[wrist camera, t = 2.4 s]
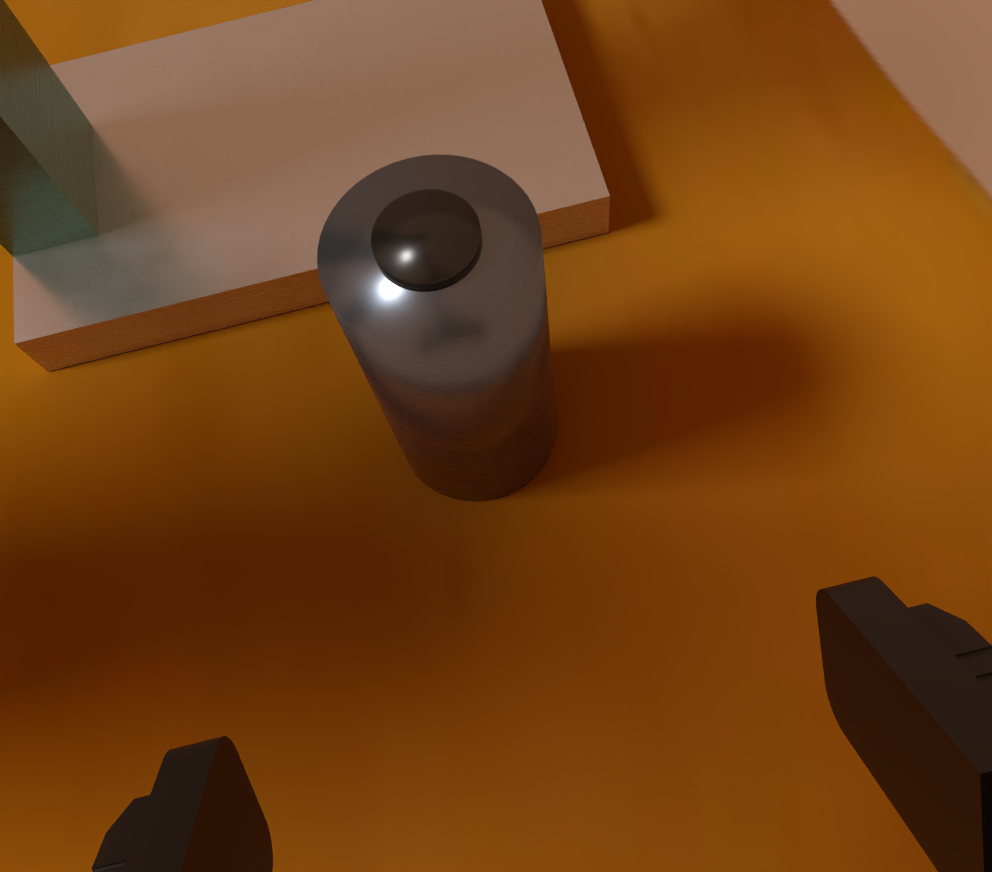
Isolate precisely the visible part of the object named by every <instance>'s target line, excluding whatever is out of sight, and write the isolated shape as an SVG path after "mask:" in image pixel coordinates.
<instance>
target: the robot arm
mask: <svg viewBox="0 0 992 872" xmlns="http://www.w3.org/2000/svg"><path fill="white" fill-rule="evenodd" d="M816 608H817V617H818V626H819V634H820V643H821V652H822V661H823V670H824V679H825V686H826V691H827V695H828V699H829V702H830V705H831V708H832V710H833V713H834V715H835V718H836V720H837V722H838V724H839V726H840V728H841V730H842V731H843V733H844V734H845V736H846V737H847V739H848V740H849V742H850V743H851V745H852V746H853V748H854V749H855V750H856V752H857V753H858V755H859V756H860V758H861V759H862V761H863V762H864V764H865V765H866V767H867V768H868V769H869V771H870V772H871V774H872V775H873V777H874V778H875V780H876V781H877V783H878V784H879V786H880V787H881V789H882V790H883V791H884V793H885V794H886V796H887V797H888V799H889V800H890V802H891V803H892V805H893V806H894V808H895V809H896V810H897V812H898V813H899V815H900V816H901V818H902V819H903V821H904V822H905V824H906V825H907V827H908V828H909V830H910V831H911V832H912V834H913V835H914V837H915V838H916V840H917V841H918V843H919V844H920V846H921V847H922V849H923V850H924V851H925V853H926V854H927V856H928V857H929V859H930V860H931V862H932V863H933V865H934V866H935V868H936V869H937V871H938V872H992V645H991V644H989V643H988V642H987V641H986V640H985V639H984V638H983V637H982V636H981V635H980V634H979V633H978V632H977V631H976V630H975V629H974V628H973V627H971V626H970V625H969V624H968V623H967V622H966V621H965V620H963V619H960V618H958V617H956V616H954V615H952V614H950V613H947V612H945V611H943V610H941V609H939V608H937V607H934V606H932V605H930V604H928V603H926V604H922V605H918V606H914V607H910V608H907V607H906V605H905V604H904V603H903V602H902V601H901V600H900V599H899V598H898V597H897V596H896V595H895V594H894V593H893V592H892V591H891V590H890V589H889V588H888V587H887V586H886V585H885V584H884V583H883V582H882V581H881V580H880V579H879V578H877V577H874V576H873V577H869V578H865V579H861V580H856V581H852V582H848V583H844V584H840V585H836V586H832V587H828V588H824V589H820V590H819V591H818V592H817V596H816ZM272 869H273V853H272V843H271V837H270V832H269V828H268V825H267V822H266V819H265V817H264V814H263V812H262V810H261V807H260V805H259V802H258V800H257V798H256V795H255V793H254V790H253V788H252V786H251V783H250V781H249V778H248V776H247V774H246V771H245V769H244V766H243V764H242V762H241V759H240V757H239V754H238V752H237V750H236V748H235V745H234V744H233V742H232V741H231V740H230V739H229V738H228V737H226V736H223V737H219V738H215V739H211V740H207V741H203V742H199V743H195V744H191V745H187V746H183V747H179V748H175V749H171V750H169V751H168V752H167V753H166V755H165V757H164V759H163V762H162V764H161V767H160V770H159V773H158V775H157V778H156V781H155V784H154V786H153V789H152V792H151V795H148V796H144V797H140V798H136V799H134V800H133V801H132V802H131V803H130V804H129V806H128V807H127V808H126V809H125V811H124V812H123V813H122V814H121V815H120V817H119V818H118V819H117V820H116V822H115V823H114V824H113V825H112V827H111V828H110V829H109V830H108V831H107V833H106V835H105V837H104V839H103V842H102V844H101V847H100V849H99V852H98V854H97V857H96V859H95V862H94V864H93V867H92V871H93V872H272Z"/></svg>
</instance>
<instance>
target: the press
mask: <svg viewBox="0 0 992 872" xmlns="http://www.w3.org/2000/svg"><path fill="white" fill-rule="evenodd" d="M435 154H438V155H455V156H463V157H467V158H471V159H475V160H478V161H481V162H484V163H486V164H489V165H491V166H493V167H495V168H497V169H499V170H500V171H502V172H503V173H505V174H506V175H508V176H509V177H510V178H512V179H513V180H514V181H515V182H516V183H517V184H518V185H519V186H520V187H521V188H522V189H523V191H524V192H525V193H526V194H527V195H528V197H529V199H530V200H531V202H532V204H533V206H534V208H535V210H536V213H537V215H538V218H539V222H540V227H541V233H542V246H543V249H544V248H548V247H552V246H556V245H560V244H564V243H568V242H572V241H576V240H580V239H584V238H588V237H592V236H596V235H600V234H604V233H608V232H609V209H610V195H609V192H608V189H607V186H606V183H605V180H604V178H603V175H602V172H601V169H600V166H599V163H598V160H597V158H596V155H595V152H594V149H593V146H592V143H591V140H590V138H589V135H588V132H587V129H586V126H585V123H584V121H583V118H582V115H581V112H580V109H579V106H578V103H577V101H576V98H575V95H574V92H573V89H572V86H571V83H570V81H569V78H568V75H567V72H566V69H565V66H564V63H563V61H562V58H561V55H560V52H559V49H558V46H557V43H556V41H555V38H554V35H553V32H552V29H551V26H550V24H549V21H548V18H547V15H546V12H545V9H544V6H543V4H542V1H541V0H314V1H310V2H306V3H302V4H298V5H294V6H290V7H286V8H282V9H278V10H273V11H269V12H265V13H261V14H257V15H253V16H249V17H245V18H241V19H237V20H233V21H229V22H225V23H221V24H217V25H212V26H208V27H204V28H200V29H196V30H192V31H188V32H184V33H180V34H176V35H172V36H168V37H164V38H160V39H156V40H152V41H147V42H143V43H139V44H135V45H131V46H127V47H123V48H119V49H115V50H111V51H107V52H103V53H99V54H95V55H91V56H86V57H82V58H78V59H74V60H70V61H66V62H62V63H58V64H54V65H49V64H48V62H47V61H46V60H45V58H44V57H43V55H42V54H41V52H40V51H39V50H38V48H37V47H36V45H35V44H34V43H33V41H32V40H31V38H30V37H29V35H28V34H27V33H26V31H25V30H24V28H23V27H22V26H21V24H20V23H19V21H18V20H17V18H16V17H15V16H14V14H13V13H12V11H11V10H10V9H9V7H8V6H7V4H6V3H5V1H4V0H0V244H1V245H2V246H3V247H4V248H5V249H6V250H7V251H8V252H9V253H10V254H11V255H12V256H13V277H14V344H16V345H17V346H18V347H19V348H20V349H21V350H23V351H24V352H25V353H26V354H27V355H29V356H30V357H31V358H32V359H33V360H34V361H36V362H37V363H38V364H39V365H40V366H42V367H43V368H44V369H45V370H46V371H52V370H56V369H60V368H64V367H68V366H72V365H76V364H80V363H84V362H88V361H92V360H96V359H101V358H105V357H109V356H113V355H117V354H121V353H125V352H129V351H133V350H137V349H141V348H145V347H149V346H153V345H157V344H161V343H165V342H169V341H173V340H177V339H181V338H185V337H189V336H193V335H197V334H201V333H205V332H209V331H213V330H217V329H221V328H225V327H229V326H234V325H238V324H242V323H246V322H250V321H254V320H258V319H262V318H266V317H270V316H274V315H278V314H282V313H286V312H290V311H294V310H298V309H302V308H306V307H310V306H314V305H318V304H322V303H326V302H329V301H328V299H327V296H326V294H325V292H324V290H323V287H322V285H321V282H320V278H319V274H318V267H317V250H318V244H319V239H320V235H321V232H322V229H323V226H324V224H325V222H326V220H327V218H328V216H329V214H330V212H331V211H332V209H333V208H334V207H335V205H336V204H337V202H338V201H339V200H340V199H341V198H342V197H343V196H344V194H345V193H346V192H347V191H348V190H349V189H351V188H352V187H353V186H354V185H355V184H356V183H357V182H359V181H360V180H362V179H363V178H365V177H366V176H367V175H369V174H371V173H373V172H374V171H376V170H378V169H380V168H382V167H384V166H387V165H389V164H391V163H394V162H397V161H400V160H404V159H407V158H412V157H417V156H423V155H435Z"/></svg>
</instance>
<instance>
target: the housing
mask: <svg viewBox="0 0 992 872" xmlns="http://www.w3.org/2000/svg"><path fill="white" fill-rule="evenodd" d="M317 267H318V274H319V278H320V282H321V285H322V287H323V290H324V292H325V294H326V296H327V299H328V301H329V303H330V305H331V307H332V309H333V311H334V313H335V315H336V317H337V319H338V321H339V323H340V325H341V327H342V329H343V331H344V333H345V335H346V337H347V339H348V341H349V343H350V345H351V347H352V349H353V351H354V353H355V355H356V357H357V359H358V362H359V364H360V366H361V368H362V370H363V372H364V374H365V376H366V378H367V380H368V382H369V384H370V386H371V388H372V390H373V392H374V394H375V396H376V398H377V400H378V402H379V404H380V406H381V408H382V410H383V412H384V414H385V416H386V418H387V420H388V422H389V424H390V427H391V429H392V431H393V433H394V435H395V437H396V439H397V441H398V443H399V445H400V447H401V449H402V451H403V453H404V455H405V457H406V459H407V461H408V463H409V465H410V466H411V468H412V470H413V471H414V473H415V474H416V475H417V476H418V477H419V478H420V479H421V480H422V481H423V482H424V483H425V484H426V485H427V486H429V487H430V488H432V489H433V490H435V491H436V492H439V493H441V494H443V495H445V496H448V497H451V498H454V499H458V500H464V501H487V500H492V499H497V498H500V497H503V496H506V495H508V494H510V493H513V492H515V491H517V490H518V489H520V488H521V487H523V486H525V485H526V484H527V483H528V482H530V481H531V480H532V479H533V478H534V477H535V476H536V475H537V474H538V473H539V472H540V470H541V469H542V468H543V466H544V465H545V463H546V462H547V460H548V458H549V456H550V454H551V451H552V449H553V446H554V442H555V437H556V413H555V400H554V387H553V374H552V362H551V349H550V336H549V323H548V310H547V297H546V284H545V272H544V259H543V246H542V233H541V227H540V222H539V218H538V215H537V213H536V210H535V208H534V206H533V204H532V202H531V200H530V199H529V197H528V195H527V194H526V193H525V192H524V191H523V189H522V188H521V187H520V186H519V185H518V184H517V183H516V182H515V181H514V180H513V179H512V178H510V177H509V176H508V175H506V174H505V173H503V172H502V171H500V170H499V169H497V168H495V167H493V166H491V165H489V164H486V163H484V162H481V161H478V160H475V159H471V158H467V157H463V156H455V155H438V154H435V155H423V156H417V157H412V158H407V159H404V160H400V161H397V162H394V163H391V164H389V165H387V166H384V167H382V168H380V169H378V170H376V171H374V172H373V173H371V174H369V175H367V176H366V177H365V178H363V179H362V180H360V181H359V182H357V183H356V184H355V185H354V186H353V187H352V188H351V189H349V190H348V191H347V192H346V193H345V194H344V196H343V197H342V198H341V199H340V200H339V201H338V202H337V204H336V205H335V207H334V208H333V209H332V211H331V212H330V214H329V216H328V218H327V220H326V222H325V224H324V226H323V229H322V232H321V235H320V239H319V244H318V250H317Z"/></svg>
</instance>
